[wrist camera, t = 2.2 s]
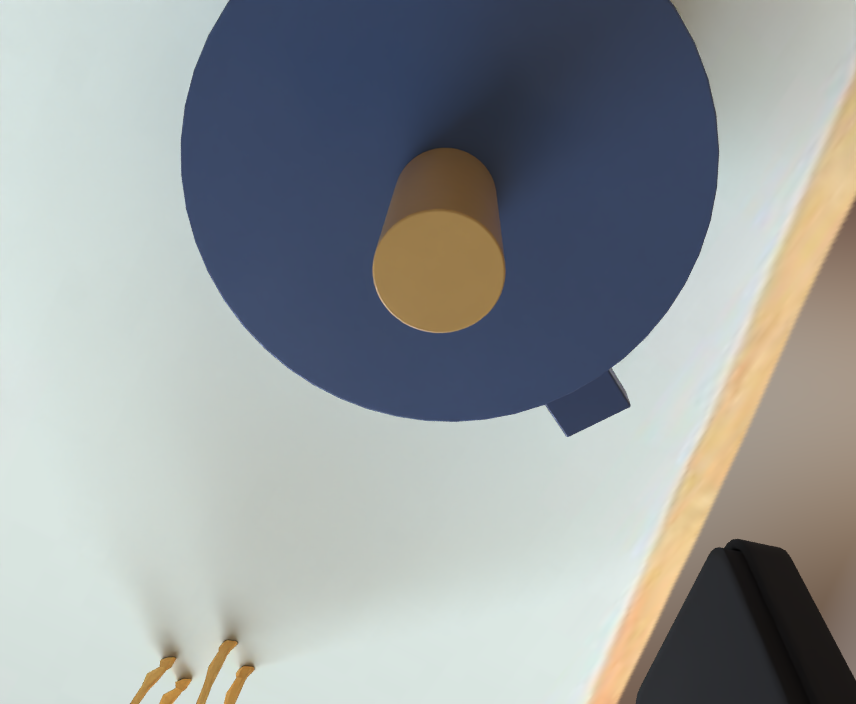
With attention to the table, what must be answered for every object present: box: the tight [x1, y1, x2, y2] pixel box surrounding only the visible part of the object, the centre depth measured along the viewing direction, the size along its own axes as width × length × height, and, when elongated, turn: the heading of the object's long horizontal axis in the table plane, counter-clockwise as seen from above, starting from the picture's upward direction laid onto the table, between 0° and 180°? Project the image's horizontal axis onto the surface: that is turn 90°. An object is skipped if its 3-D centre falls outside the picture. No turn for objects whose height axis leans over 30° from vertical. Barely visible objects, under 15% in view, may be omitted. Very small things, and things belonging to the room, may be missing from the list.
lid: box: [181, 0, 719, 422], centre depth 19 cm, size 15×15×7 cm
